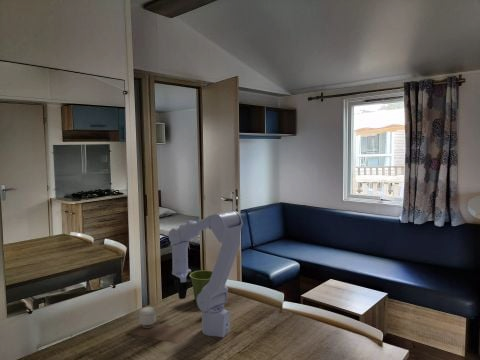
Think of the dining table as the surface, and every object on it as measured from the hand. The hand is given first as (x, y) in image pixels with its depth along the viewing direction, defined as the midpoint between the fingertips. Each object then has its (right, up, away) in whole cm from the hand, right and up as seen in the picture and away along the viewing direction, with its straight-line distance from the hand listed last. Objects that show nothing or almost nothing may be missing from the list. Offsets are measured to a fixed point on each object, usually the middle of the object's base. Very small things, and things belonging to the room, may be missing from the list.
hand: (180, 294), depth 141 cm
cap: (-11, -7, -7) cm, 15 cm away
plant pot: (+7, -8, +18) cm, 21 cm away
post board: (-6, -10, -11) cm, 16 cm away
